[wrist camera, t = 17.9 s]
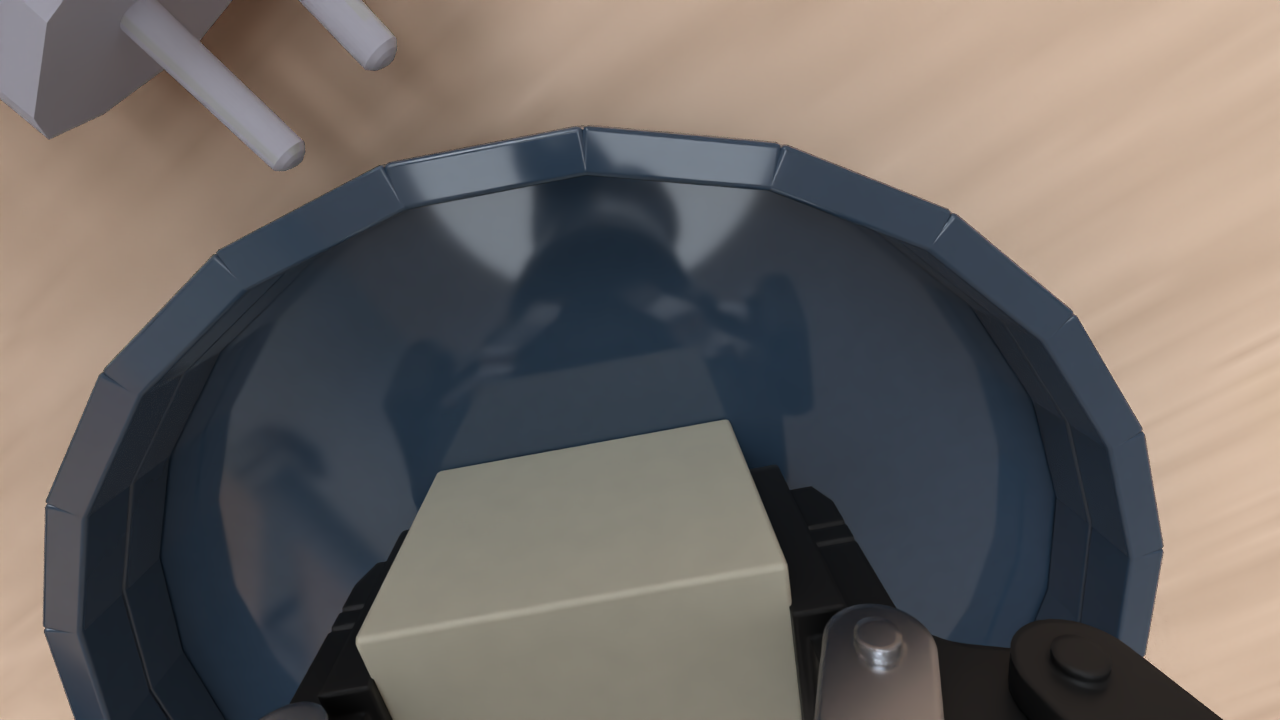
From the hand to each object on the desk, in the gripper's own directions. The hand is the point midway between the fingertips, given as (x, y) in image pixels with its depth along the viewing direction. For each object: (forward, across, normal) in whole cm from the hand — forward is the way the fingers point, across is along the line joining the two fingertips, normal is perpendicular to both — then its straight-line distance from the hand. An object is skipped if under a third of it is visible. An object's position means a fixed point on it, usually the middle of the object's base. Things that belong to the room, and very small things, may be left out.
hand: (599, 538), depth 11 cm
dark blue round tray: (+1, 0, +2) cm, 3 cm away
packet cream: (0, 0, 0) cm, 0 cm away
